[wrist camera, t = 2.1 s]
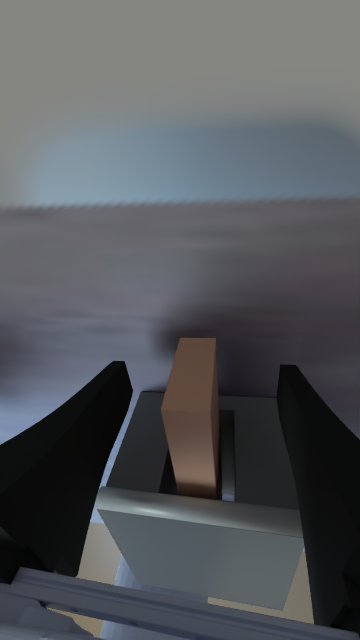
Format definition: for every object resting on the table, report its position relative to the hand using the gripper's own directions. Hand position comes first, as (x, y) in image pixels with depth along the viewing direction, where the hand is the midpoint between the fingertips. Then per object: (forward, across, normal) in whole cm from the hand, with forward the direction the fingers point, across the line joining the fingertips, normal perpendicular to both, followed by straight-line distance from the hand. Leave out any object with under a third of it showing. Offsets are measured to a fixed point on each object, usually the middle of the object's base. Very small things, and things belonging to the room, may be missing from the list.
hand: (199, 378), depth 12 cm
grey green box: (+2, 0, +8) cm, 8 cm away
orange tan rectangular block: (0, 0, +4) cm, 4 cm away
